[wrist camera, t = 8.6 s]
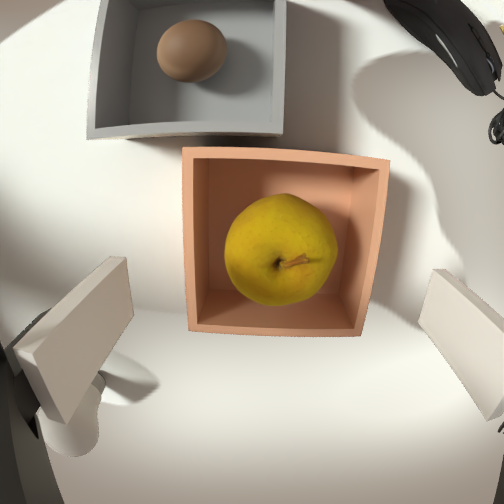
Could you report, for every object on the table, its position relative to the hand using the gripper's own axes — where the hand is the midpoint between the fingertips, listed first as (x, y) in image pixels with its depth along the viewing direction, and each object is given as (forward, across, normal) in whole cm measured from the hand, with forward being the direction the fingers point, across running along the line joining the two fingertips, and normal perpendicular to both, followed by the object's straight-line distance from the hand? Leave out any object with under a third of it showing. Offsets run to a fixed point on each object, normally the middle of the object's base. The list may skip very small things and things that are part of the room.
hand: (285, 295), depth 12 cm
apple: (+10, 0, 0) cm, 10 cm away
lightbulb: (+11, -18, -17) cm, 27 cm away
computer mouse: (+11, +17, +18) cm, 28 cm away
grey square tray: (+11, -6, +12) cm, 17 cm away
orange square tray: (+11, 0, 0) cm, 11 cm away
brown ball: (+10, -6, +12) cm, 17 cm away
